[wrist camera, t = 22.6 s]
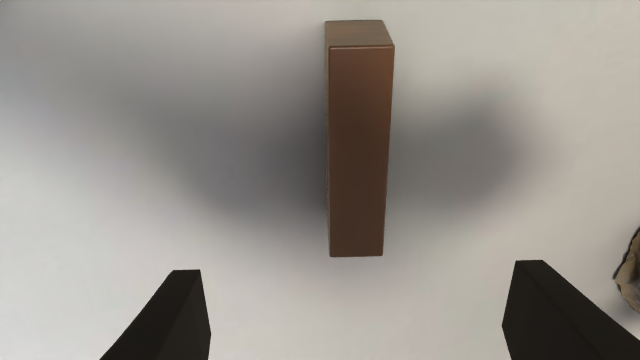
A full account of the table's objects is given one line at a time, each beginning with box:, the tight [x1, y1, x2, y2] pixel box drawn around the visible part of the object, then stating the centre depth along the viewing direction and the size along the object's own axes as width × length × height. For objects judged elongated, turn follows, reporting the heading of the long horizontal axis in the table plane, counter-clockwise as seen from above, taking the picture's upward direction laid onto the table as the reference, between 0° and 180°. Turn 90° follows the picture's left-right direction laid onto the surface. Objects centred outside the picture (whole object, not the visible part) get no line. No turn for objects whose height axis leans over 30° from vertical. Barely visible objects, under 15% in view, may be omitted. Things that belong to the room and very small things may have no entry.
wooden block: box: [325, 20, 395, 257], centre depth 19 cm, size 2×8×3 cm, turn 1°
